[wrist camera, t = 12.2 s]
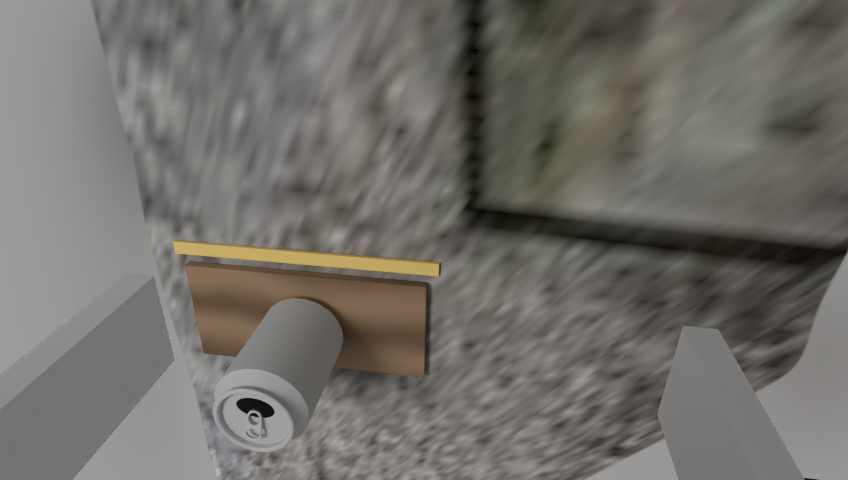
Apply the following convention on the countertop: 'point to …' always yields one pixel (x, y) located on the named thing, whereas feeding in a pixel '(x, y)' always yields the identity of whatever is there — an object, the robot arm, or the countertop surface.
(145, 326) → the robot arm
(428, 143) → the countertop surface
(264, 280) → the board
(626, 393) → the countertop surface
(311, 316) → the can
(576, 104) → the countertop surface
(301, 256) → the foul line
